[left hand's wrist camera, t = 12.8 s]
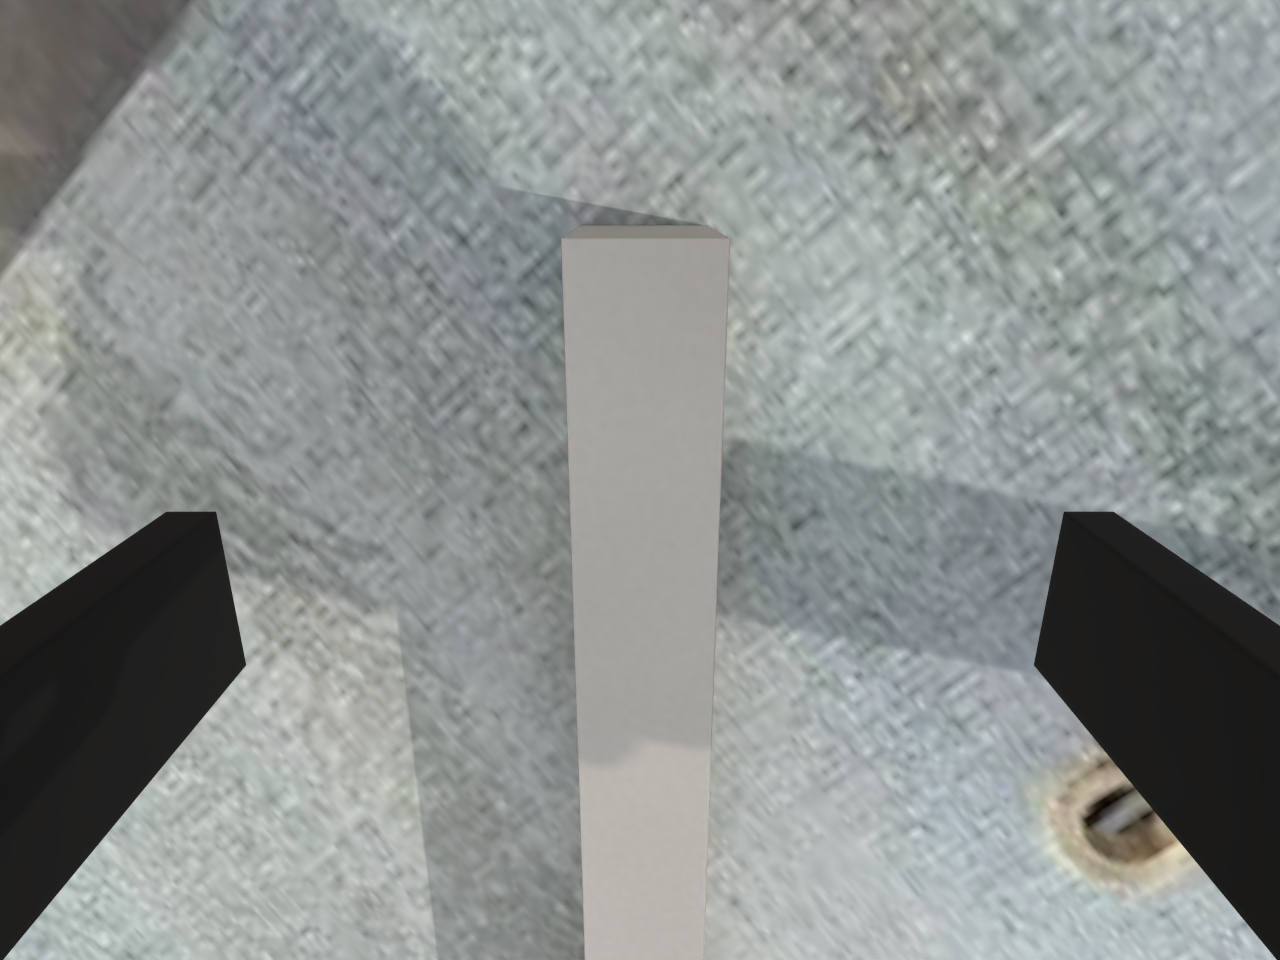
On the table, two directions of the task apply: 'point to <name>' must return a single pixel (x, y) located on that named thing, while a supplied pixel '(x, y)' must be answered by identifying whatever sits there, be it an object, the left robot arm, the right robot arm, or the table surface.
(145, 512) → the table surface
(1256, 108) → the table surface
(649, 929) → the beam
